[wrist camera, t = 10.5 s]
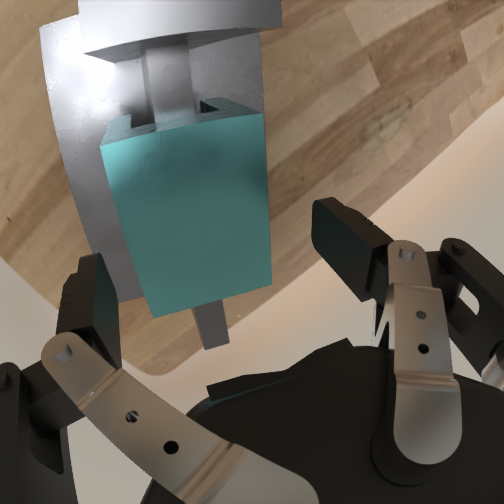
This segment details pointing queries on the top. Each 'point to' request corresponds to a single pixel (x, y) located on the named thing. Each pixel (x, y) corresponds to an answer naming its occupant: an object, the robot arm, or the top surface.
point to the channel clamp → (192, 203)
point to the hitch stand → (145, 97)
